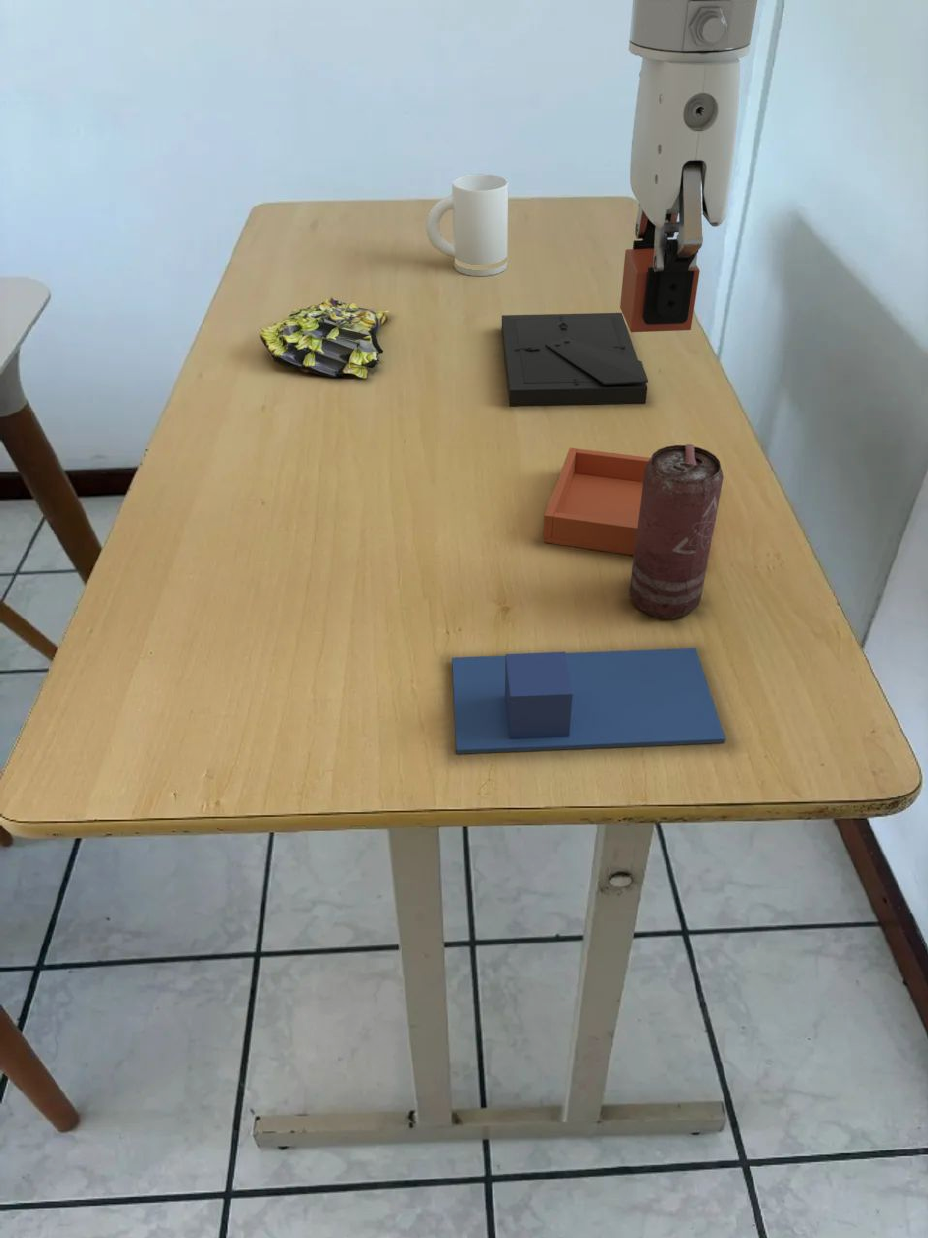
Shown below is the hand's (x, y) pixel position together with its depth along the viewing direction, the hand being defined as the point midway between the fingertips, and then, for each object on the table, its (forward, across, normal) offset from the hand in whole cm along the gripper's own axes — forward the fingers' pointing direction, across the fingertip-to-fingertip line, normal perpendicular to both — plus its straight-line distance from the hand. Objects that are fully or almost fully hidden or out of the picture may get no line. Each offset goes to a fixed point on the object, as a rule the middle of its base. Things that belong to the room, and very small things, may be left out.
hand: (657, 304), depth 72 cm
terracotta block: (+1, 0, 0) cm, 1 cm away
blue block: (+24, -19, +10) cm, 32 cm away
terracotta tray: (+25, +8, -2) cm, 26 cm away
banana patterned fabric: (+25, +50, +28) cm, 63 cm away
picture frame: (+25, +41, 0) cm, 48 cm away
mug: (+25, +75, +10) cm, 80 cm away
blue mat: (+25, -17, +6) cm, 30 cm away
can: (+25, -5, -3) cm, 25 cm away
